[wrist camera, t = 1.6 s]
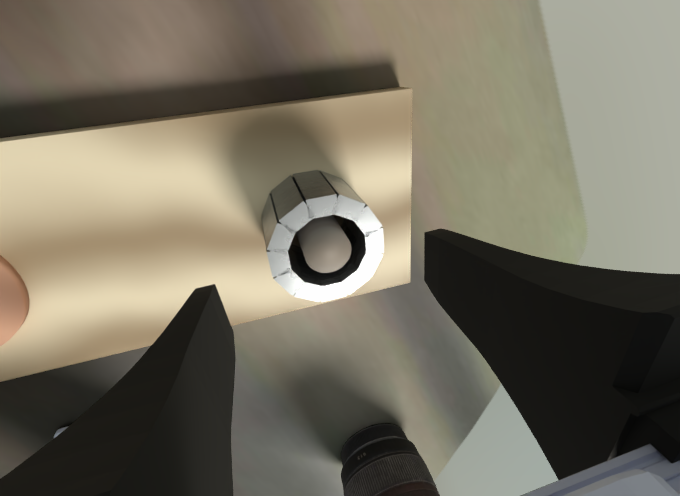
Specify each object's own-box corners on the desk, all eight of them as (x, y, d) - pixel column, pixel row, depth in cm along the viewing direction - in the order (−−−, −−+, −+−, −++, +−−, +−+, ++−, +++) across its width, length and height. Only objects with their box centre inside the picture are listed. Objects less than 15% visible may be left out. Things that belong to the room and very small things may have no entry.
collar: (360, 250, 21) (385, 286, 17) (272, 269, 20) (280, 312, 16) (354, 163, 18) (381, 186, 15) (252, 180, 17) (256, 208, 14)
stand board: (401, 271, 24) (443, 324, 19) (-101, 388, 19) (-224, 506, 14) (400, 86, 18) (461, 94, 13) (-331, 180, 13) (-692, 253, 8)
